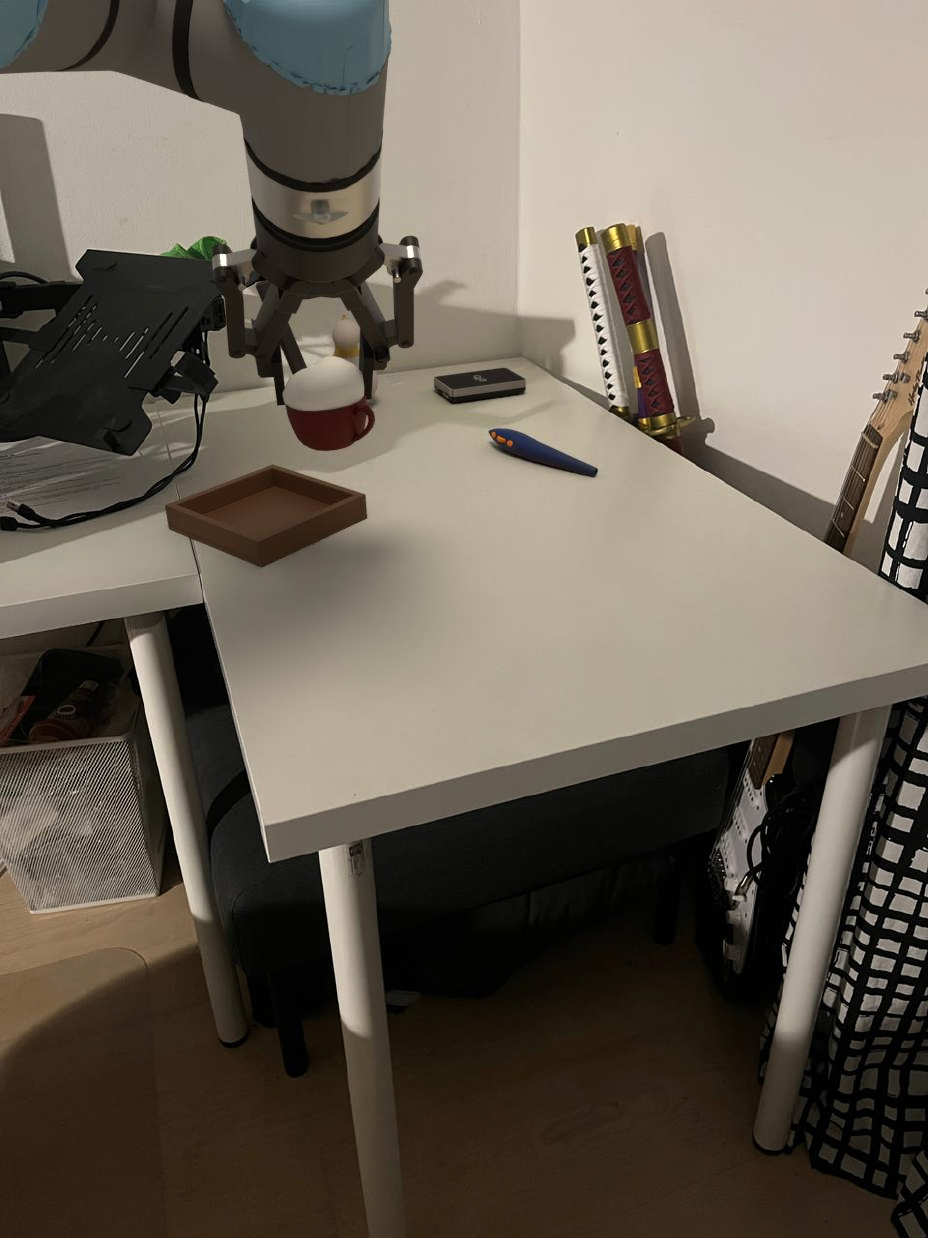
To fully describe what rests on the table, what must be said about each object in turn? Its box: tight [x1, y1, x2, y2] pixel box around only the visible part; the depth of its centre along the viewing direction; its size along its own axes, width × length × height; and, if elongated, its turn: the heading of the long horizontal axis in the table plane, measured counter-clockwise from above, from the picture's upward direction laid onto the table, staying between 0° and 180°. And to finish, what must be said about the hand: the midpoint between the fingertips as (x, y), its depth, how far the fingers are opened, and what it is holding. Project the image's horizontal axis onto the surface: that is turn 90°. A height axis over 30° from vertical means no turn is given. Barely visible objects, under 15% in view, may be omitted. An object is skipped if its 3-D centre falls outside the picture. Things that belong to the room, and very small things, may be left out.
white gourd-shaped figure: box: [331, 314, 379, 404], centre depth 123 cm, size 8×10×12 cm
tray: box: [164, 464, 368, 568], centre depth 94 cm, size 14×14×2 cm
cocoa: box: [255, 279, 376, 452], centre depth 74 cm, size 10×6×12 cm, turn 34°
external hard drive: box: [433, 366, 527, 403], centre depth 131 cm, size 7×11×2 cm, turn 113°
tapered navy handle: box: [487, 427, 599, 477], centre depth 108 cm, size 16×4×2 cm, turn 46°
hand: (323, 387), depth 79 cm, fingers closed on cocoa, 6 cm apart
